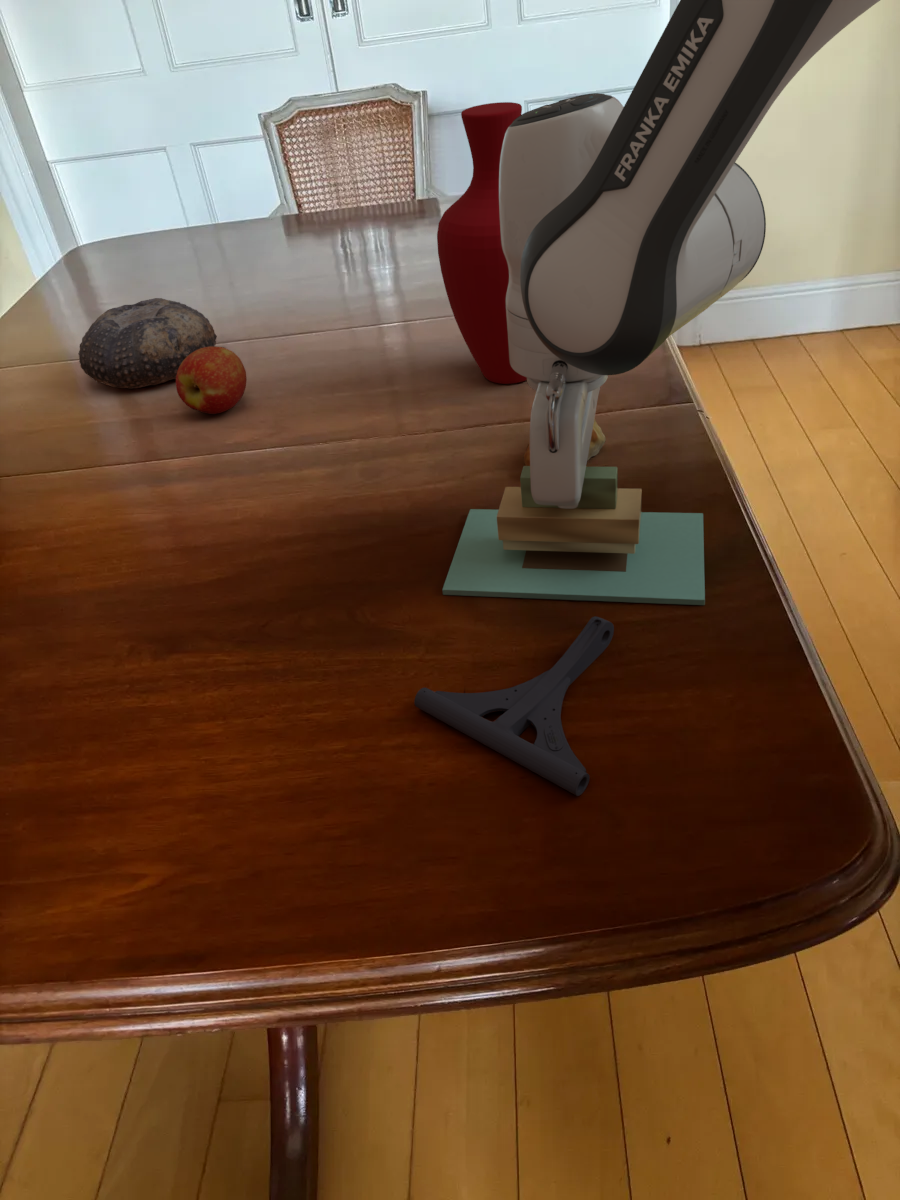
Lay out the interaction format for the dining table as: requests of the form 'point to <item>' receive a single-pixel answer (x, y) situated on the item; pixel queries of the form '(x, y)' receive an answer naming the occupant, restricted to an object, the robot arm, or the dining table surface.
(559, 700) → the bracket
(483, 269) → the vase
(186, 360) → the apple
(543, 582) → the mat
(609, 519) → the brush
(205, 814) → the dining table surface
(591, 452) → the pastry
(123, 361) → the sea urchin shell
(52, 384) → the dining table surface
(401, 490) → the dining table surface
